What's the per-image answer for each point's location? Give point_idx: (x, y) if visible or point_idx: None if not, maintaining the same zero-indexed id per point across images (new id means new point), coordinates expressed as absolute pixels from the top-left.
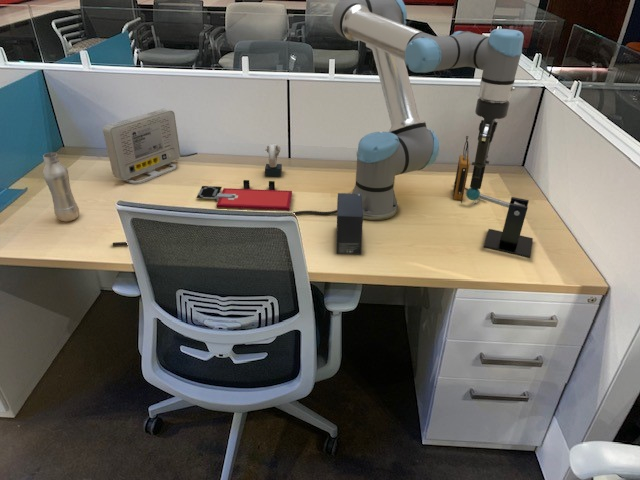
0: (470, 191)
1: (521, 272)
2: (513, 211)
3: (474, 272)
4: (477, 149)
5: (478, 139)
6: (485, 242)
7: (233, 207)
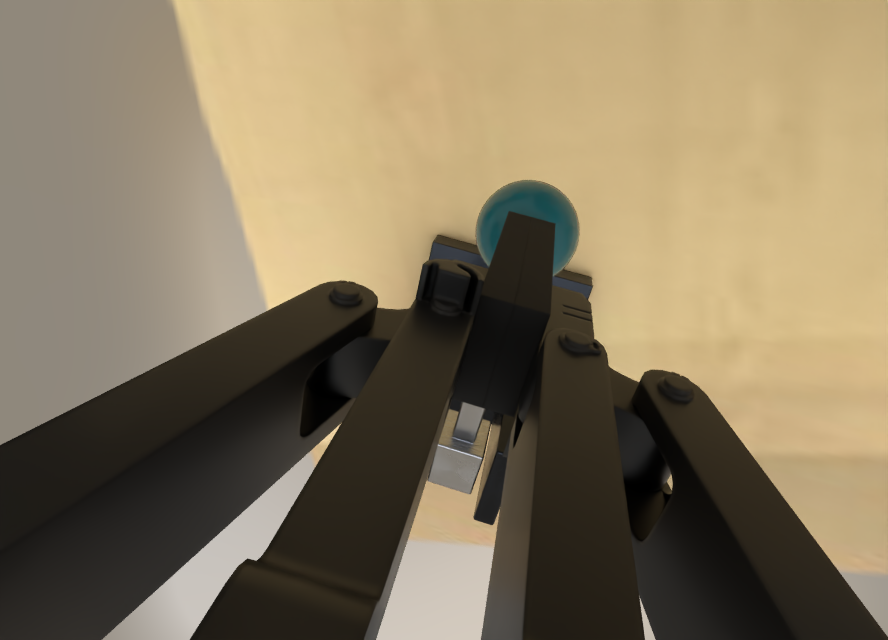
0: (493, 212)
1: None
2: None
3: (266, 179)
4: (78, 415)
5: (236, 581)
6: (459, 252)
7: None
